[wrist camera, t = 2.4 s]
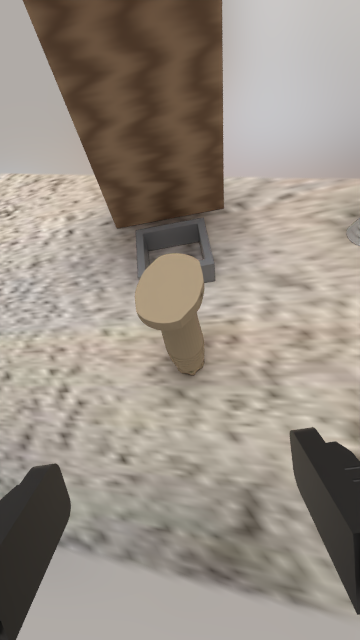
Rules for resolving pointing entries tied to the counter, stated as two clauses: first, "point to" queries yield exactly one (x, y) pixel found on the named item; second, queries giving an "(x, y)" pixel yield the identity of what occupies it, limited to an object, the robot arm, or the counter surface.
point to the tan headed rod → (174, 307)
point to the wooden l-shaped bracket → (142, 99)
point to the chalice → (354, 232)
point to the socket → (175, 243)
